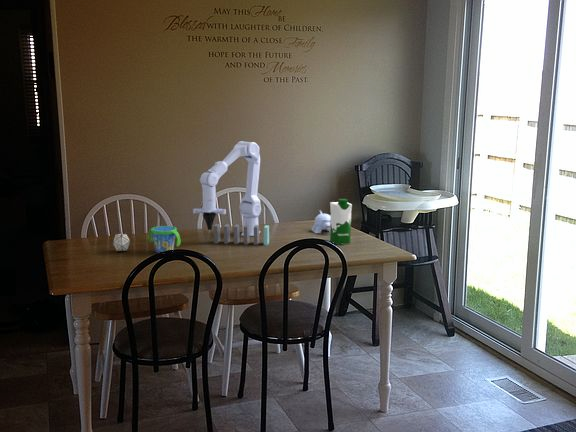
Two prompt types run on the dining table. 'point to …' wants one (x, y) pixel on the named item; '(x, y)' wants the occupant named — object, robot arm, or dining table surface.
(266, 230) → the domino
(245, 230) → the domino
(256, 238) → the domino
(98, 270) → the dining table surface
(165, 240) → the snack cup
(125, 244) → the game die
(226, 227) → the domino
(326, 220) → the hippopotamus toy
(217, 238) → the domino
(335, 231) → the milk carton
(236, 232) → the domino
